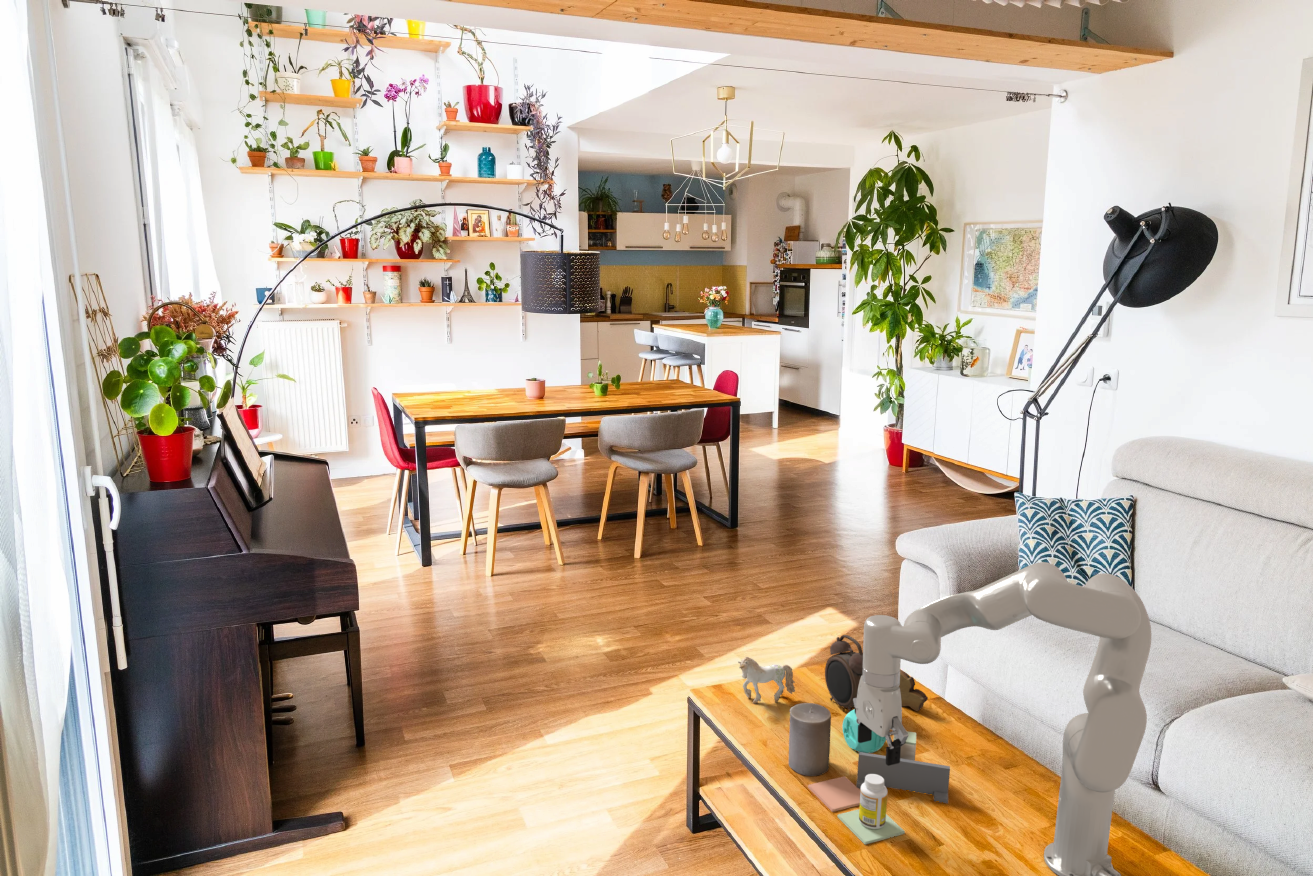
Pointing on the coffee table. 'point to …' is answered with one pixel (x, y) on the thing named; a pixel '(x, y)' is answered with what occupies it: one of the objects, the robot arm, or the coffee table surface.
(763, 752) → the coffee table surface
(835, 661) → the alarm clock
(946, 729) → the coffee table surface
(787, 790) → the coffee table surface
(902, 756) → the marked post
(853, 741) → the decorative dice
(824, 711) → the pillar candle
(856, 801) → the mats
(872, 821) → the supplement bottle
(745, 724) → the coffee table surface
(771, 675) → the unicorn figurine
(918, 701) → the wooden carving
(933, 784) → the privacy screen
